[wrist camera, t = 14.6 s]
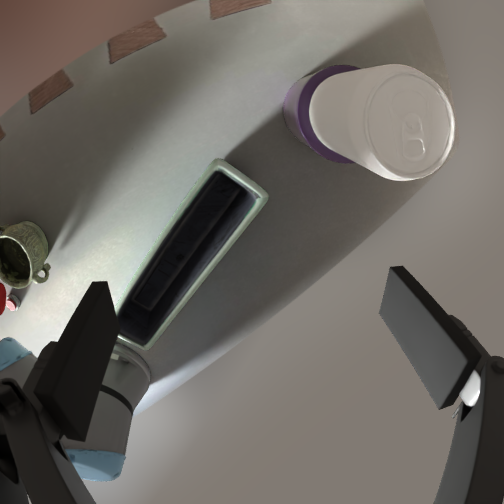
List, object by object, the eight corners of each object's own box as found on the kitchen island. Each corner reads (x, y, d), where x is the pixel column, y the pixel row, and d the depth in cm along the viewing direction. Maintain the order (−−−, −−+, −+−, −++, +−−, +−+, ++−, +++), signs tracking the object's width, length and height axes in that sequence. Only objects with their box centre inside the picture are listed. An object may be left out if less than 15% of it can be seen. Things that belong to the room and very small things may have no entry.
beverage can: (379, 72, 25) (455, 67, 14) (387, 149, 29) (460, 180, 18) (301, 76, 25) (348, 61, 14) (313, 158, 29) (362, 194, 18)
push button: (17, 294, 43) (13, 299, 42) (22, 308, 45) (18, 313, 43) (6, 293, 43) (2, 297, 42) (11, 306, 44) (7, 311, 43)
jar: (356, 151, 38) (388, 166, 30) (281, 148, 37) (296, 162, 29) (359, 76, 33) (393, 73, 25) (281, 69, 32) (297, 59, 24)
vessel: (-3, 237, 38) (-23, 255, 33) (16, 199, 36) (-8, 214, 31) (46, 284, 43) (29, 306, 37) (68, 250, 41) (50, 271, 35)
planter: (155, 322, 47) (147, 353, 41) (116, 299, 45) (102, 329, 38) (265, 180, 39) (273, 196, 32) (218, 146, 36) (216, 155, 30)
